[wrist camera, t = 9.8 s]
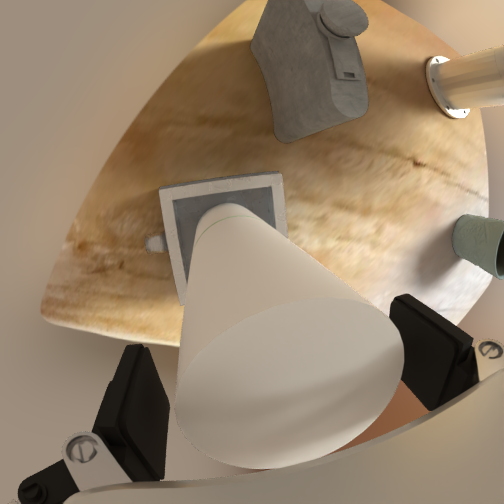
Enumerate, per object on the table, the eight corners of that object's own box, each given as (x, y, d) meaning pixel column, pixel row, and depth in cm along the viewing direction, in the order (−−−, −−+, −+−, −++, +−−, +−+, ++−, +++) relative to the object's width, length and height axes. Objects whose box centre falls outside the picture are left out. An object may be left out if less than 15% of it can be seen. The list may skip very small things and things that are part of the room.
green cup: (481, 234, 44) (523, 248, 33) (459, 271, 45) (501, 291, 34) (466, 200, 41) (513, 209, 30) (442, 238, 42) (491, 255, 31)
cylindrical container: (193, 264, 31) (180, 470, 7) (198, 200, 30) (171, 289, 6) (256, 268, 33) (361, 451, 9) (263, 206, 31) (432, 296, 7)
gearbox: (268, 171, 35) (284, 170, 28) (278, 268, 38) (294, 289, 31) (143, 190, 33) (127, 193, 26) (161, 287, 36) (152, 311, 29)
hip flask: (247, 40, 30) (285, -56, 11) (276, 37, 30) (331, -51, 11) (277, 145, 34) (354, 113, 15) (306, 139, 35) (401, 110, 15)
